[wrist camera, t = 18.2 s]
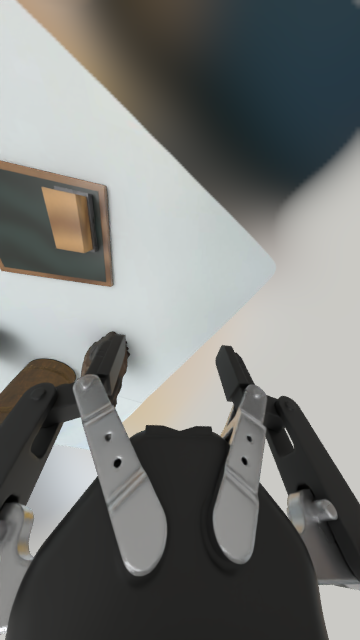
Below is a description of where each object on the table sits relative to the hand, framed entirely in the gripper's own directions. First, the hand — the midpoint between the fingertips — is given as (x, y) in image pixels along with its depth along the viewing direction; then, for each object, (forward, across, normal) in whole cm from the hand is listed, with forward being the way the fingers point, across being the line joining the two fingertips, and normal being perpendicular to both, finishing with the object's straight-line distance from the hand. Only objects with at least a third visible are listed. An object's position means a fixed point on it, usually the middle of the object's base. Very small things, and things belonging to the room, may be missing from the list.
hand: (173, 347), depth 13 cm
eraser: (+25, +18, -5) cm, 31 cm away
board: (+26, +24, -2) cm, 36 cm away
